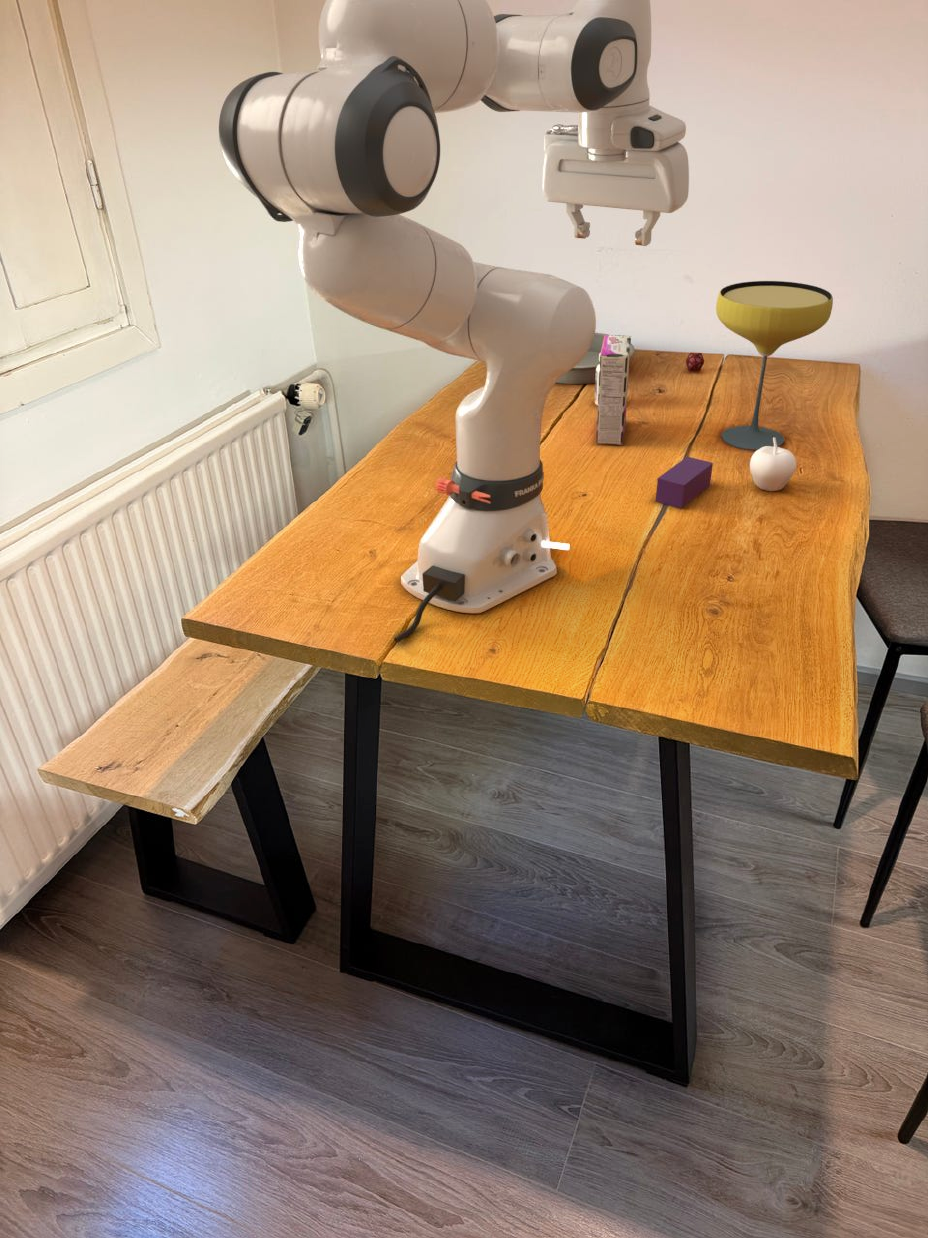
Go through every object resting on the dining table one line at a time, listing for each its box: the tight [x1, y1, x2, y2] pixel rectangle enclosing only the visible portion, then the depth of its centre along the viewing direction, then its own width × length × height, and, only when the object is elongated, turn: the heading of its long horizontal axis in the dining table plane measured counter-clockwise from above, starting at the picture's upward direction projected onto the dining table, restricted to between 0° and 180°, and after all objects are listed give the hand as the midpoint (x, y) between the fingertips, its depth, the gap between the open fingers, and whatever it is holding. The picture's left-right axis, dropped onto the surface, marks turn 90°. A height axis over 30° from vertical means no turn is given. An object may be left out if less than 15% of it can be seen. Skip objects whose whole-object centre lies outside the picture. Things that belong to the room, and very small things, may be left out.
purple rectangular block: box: [655, 456, 714, 509], centre depth 140 cm, size 10×4×4 cm, turn 142°
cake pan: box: [555, 332, 636, 385], centre depth 192 cm, size 25×25×4 cm
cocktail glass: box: [715, 280, 834, 451], centre depth 151 cm, size 18×18×25 cm
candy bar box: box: [595, 334, 632, 446], centre depth 158 cm, size 11×5×16 cm, turn 168°
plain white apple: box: [749, 438, 797, 492], centre depth 140 cm, size 7×7×8 cm
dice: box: [685, 352, 705, 372], centre depth 188 cm, size 4×4×4 cm
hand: (611, 240), depth 120 cm, fingers open, 8 cm apart
